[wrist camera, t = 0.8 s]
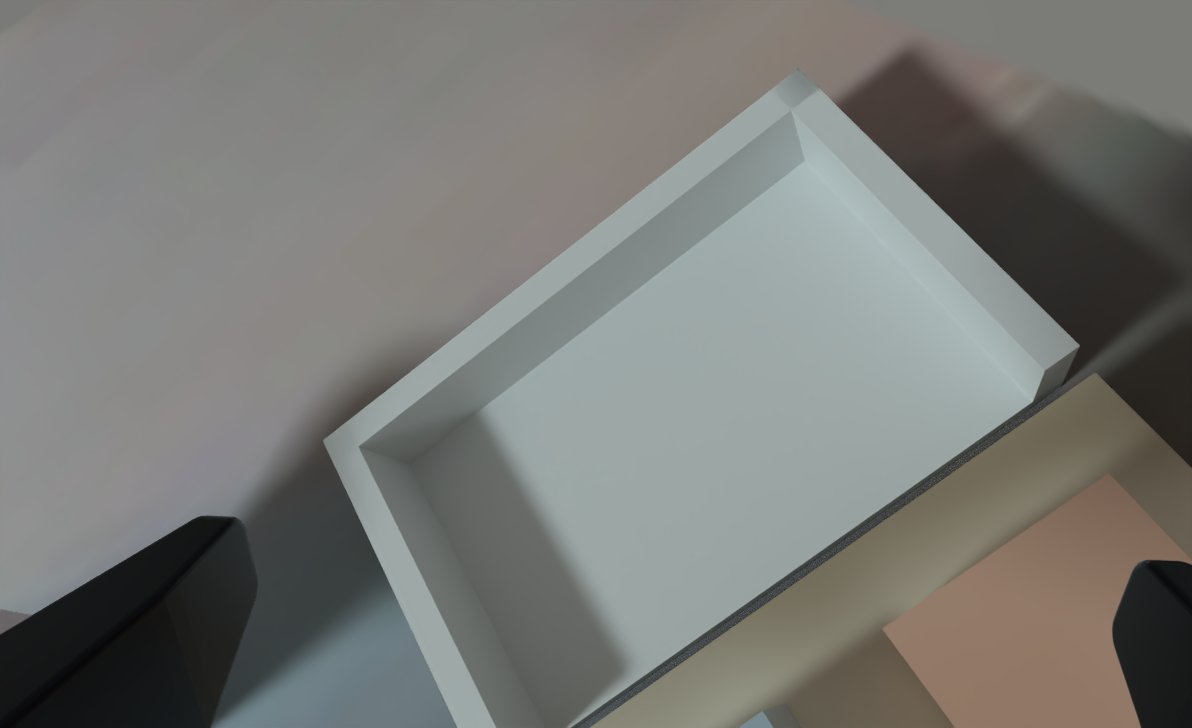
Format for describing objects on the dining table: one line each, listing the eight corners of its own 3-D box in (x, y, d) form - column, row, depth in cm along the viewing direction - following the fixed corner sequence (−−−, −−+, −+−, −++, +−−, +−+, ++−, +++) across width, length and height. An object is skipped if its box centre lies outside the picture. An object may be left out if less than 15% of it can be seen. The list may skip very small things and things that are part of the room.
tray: (1060, 387, 20) (1080, 345, 17) (535, 756, 21) (478, 772, 19) (814, 134, 24) (798, 68, 21) (387, 463, 25) (322, 440, 23)
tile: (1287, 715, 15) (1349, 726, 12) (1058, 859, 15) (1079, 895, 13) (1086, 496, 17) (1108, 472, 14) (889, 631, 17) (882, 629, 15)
